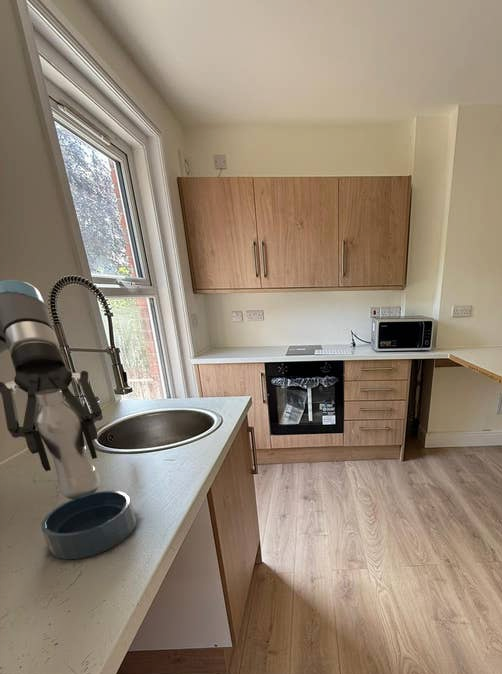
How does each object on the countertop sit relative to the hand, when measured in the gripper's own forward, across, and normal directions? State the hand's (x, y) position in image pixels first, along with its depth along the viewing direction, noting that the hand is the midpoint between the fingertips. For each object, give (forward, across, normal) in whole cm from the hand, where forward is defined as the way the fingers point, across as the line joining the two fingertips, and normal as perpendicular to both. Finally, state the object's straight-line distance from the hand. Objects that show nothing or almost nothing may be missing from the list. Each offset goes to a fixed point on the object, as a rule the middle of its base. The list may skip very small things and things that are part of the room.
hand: (71, 461), depth 60 cm
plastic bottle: (+4, 0, -9) cm, 9 cm away
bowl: (+10, 0, -15) cm, 18 cm away
